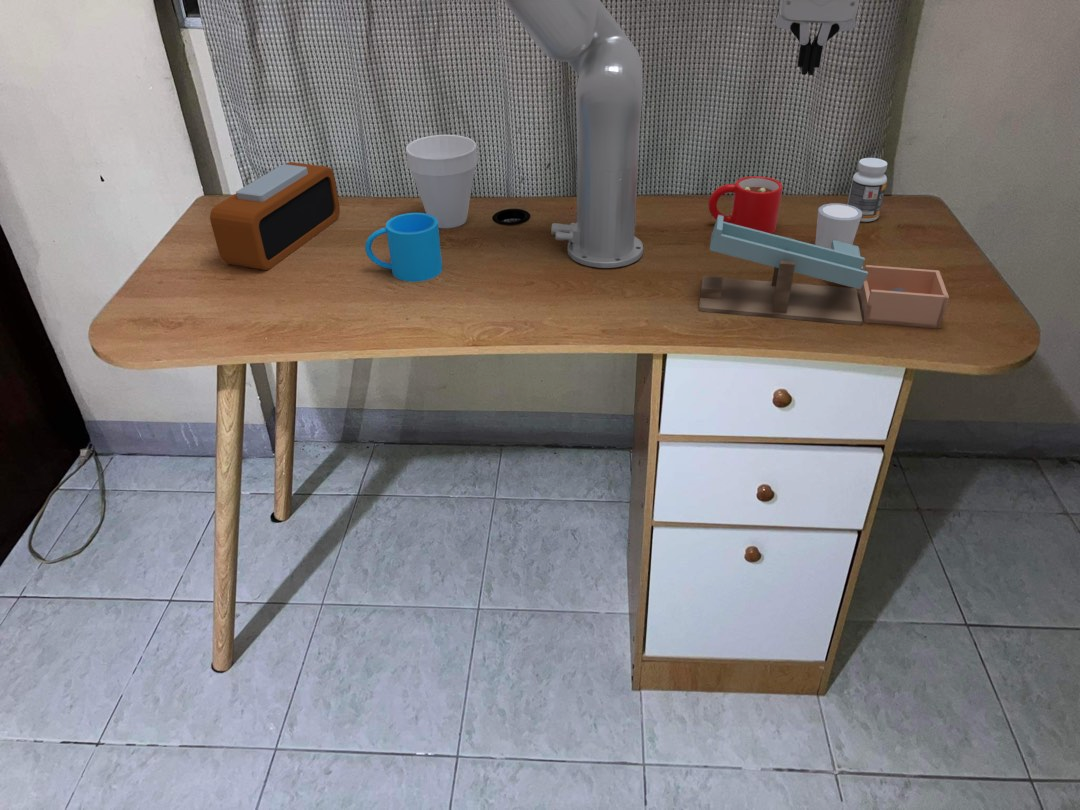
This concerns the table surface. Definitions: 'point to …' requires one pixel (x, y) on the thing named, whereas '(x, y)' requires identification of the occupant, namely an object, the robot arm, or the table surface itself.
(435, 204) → the white flower pot
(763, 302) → the launcher base
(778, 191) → the mug
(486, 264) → the table surface
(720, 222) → the lever
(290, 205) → the alarm clock
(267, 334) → the table surface
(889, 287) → the pink open box
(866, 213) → the pill bottle
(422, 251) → the mug
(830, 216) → the white cylinder
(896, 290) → the ball
